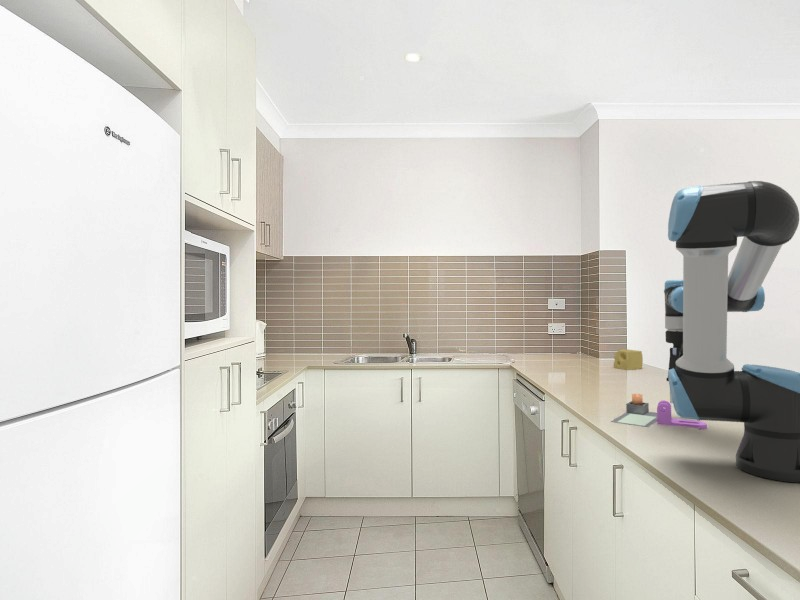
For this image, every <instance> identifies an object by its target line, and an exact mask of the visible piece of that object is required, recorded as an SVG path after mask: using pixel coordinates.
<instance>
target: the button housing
mask: <svg viewBox="0 0 800 600" xmlns="http://www.w3.org/2000/svg"><path fill="white" fill-rule="evenodd" d="M625 405H626V406H625V407H626V412H625V413H632V414H640V415H645V414H646V413H648V412H650V411H649V409H650V408H649V405H650V404H649V402H645V401H643V405H635V404H632V400H631V401H629V402H627V403H626V404H625Z"/></svg>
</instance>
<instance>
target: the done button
mask: <svg viewBox="0 0 800 600" xmlns="http://www.w3.org/2000/svg"><path fill="white" fill-rule="evenodd" d="M643 399H644V398H643V394H641V393H632V394H631V401H632V404H635V405H643V402H644V400H643Z"/></svg>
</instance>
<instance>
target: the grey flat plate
mask: <svg viewBox="0 0 800 600" xmlns="http://www.w3.org/2000/svg"><path fill="white" fill-rule="evenodd" d="M656 422H657V412H653V411H649V412H648V413H646V414H645V415H640V414H632V413H626V412H624V413H623V414H621V415H619V416H617V417H616V418H614V419H613V420H611V421H610V423H614V424H615V423H616V424H620V425H621V424H623V425H627V426H628V425H629V426H636V427H641V428H642V427H643V428H650V426H652V425H653V424H655V423H656Z"/></svg>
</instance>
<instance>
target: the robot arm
mask: <svg viewBox="0 0 800 600" xmlns="http://www.w3.org/2000/svg"><path fill="white" fill-rule="evenodd" d="M799 211H800V210H799V208H798V205H797V203H796V202H795V200H794V198H793V197H792V195H791V194H790V193H789V192H787V190H785V189H784V188H783V187H781V186H779V185H777V184H774V183H772V182H768V181H762V180H751V181H747V182H746V181H745V182H743V181H742V182H733V183H722V184H721V183H720V184H711V185H698V186H697V185H696V186H693V187H691V186H690V187H688V188H687V187H686V188H681V189H680V190H678V191H677V192H676V193H675V194H674V197H673V199H672V202H671V206H670V210H669V214H668V215H669V216H668V223H667V238H668V240H669V241H670V242H673V243H674V242H675V250H677V251H678V252H680V254H681V255H682V256H683V259H682V261H683V263H682V264H683V268H682V269H683V271H682V274H683V278H682V279H669V280H665V281H664V290H663V293H664V311H665V312H664V313H665V314H664V315H665V316H664V328H665V330H666V331H665V334H664V335H665V343H668V344H672V347H670V348H669V361H668V362H669V363H668V371H667V377H666V378H665V379H666V382H668V384H669V403H670V404H672V405H673V408H674V411H675V413H676V415H677V416H679V418H682V419H685V420H694V421H712V422H713V421H715V422H730V423H731V422H732V423H733V422H734V423H744V424H743V430H744V433H743V436H742V438H741V441H740V443H739V446H738V449H737V451H736V454H735V464H736V467H737V468H738V469H739V470H741V471H743V472H745V473H748V474H749V475H754V476H757V477H760V478H764V479H767V480H768V479H769V480H773V481H780V482H789V483H799V484H800V372H797V371H795V370H792V369H791V370H790V369H785V368H780V367H774V366H769V365H768V366H767V365H761V364H760V365H759V364H748V363H747V364H746V363H745V364H743V365H742V367H741V370H740V371H739V370H735V365H734V363H732V361H730V360H729V359H728V358H727V351H728V350H727V346H728V345H727V343H728V334H727V333H728V313H731V312H732V313H735V312H736V313H738V312H739V313H740V312H741V313H749V312H759V311H761V310H762V309H763V308H764V306H765V301H766V300H765V299H766V297H765V296H766V295H765V290H764V287H763V286H762V285H763V283H764V280H765V279H766V277H767V275H768V274H769V272H770V270H771V268H772V266H773V264H774V262H775V259H776V258H777V256H778V254H779V253H780V250H781V249H782V246H784V245H785V244H786V243H788V242H789V241H791V240H792V238H793V237H794V235H795V234H796V231H797V230H798V227H799V224H800V223H799V222H800V212H799ZM741 237H743V238H742V241H741V243H740V245H739V248H738V251H737V253H736V256H735V259H734V261H733V263H732V266H731V268H730V271H729V255H730V253H731V252H732V251H733V250H734V249H735V248H736V247H738V238H741Z"/></svg>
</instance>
